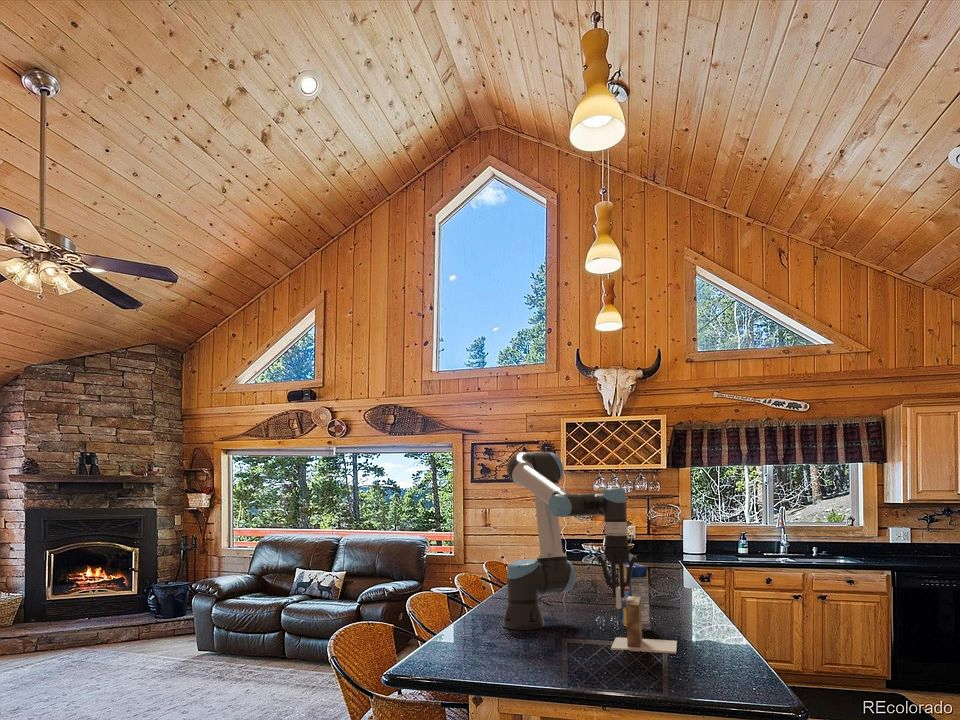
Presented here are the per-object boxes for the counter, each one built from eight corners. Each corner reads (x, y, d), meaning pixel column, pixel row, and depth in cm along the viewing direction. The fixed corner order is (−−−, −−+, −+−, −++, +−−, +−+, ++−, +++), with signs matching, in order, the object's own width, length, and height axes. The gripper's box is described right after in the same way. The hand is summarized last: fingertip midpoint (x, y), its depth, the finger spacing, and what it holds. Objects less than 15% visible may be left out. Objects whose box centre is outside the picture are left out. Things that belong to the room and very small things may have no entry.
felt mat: (611, 649, 223) (611, 647, 223) (615, 639, 237) (615, 637, 237) (676, 653, 217) (676, 651, 217) (677, 642, 231) (676, 640, 232)
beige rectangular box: (627, 646, 224) (625, 601, 226) (630, 639, 233) (628, 596, 236) (640, 647, 223) (638, 601, 225) (642, 640, 232) (640, 596, 235)
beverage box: (632, 631, 249) (630, 567, 253) (620, 624, 260) (618, 563, 263) (650, 630, 250) (647, 566, 254) (637, 623, 261) (635, 563, 265)
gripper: (595, 535, 233) (597, 609, 229) (635, 535, 230) (638, 610, 226) (598, 533, 240) (600, 605, 236) (636, 533, 237) (640, 606, 233)
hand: (619, 607), depth 231 cm, fingers closed
